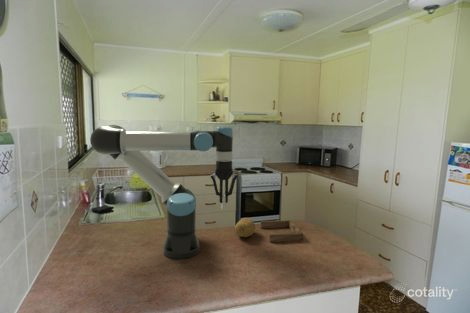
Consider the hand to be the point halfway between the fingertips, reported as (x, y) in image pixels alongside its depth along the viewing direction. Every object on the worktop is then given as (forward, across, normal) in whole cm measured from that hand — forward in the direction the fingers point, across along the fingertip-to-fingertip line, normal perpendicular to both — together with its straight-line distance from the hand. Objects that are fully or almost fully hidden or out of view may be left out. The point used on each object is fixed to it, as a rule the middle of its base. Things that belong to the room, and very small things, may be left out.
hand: (223, 209), depth 134 cm
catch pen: (+14, -29, 0) cm, 32 cm away
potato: (+14, -11, 0) cm, 17 cm away
